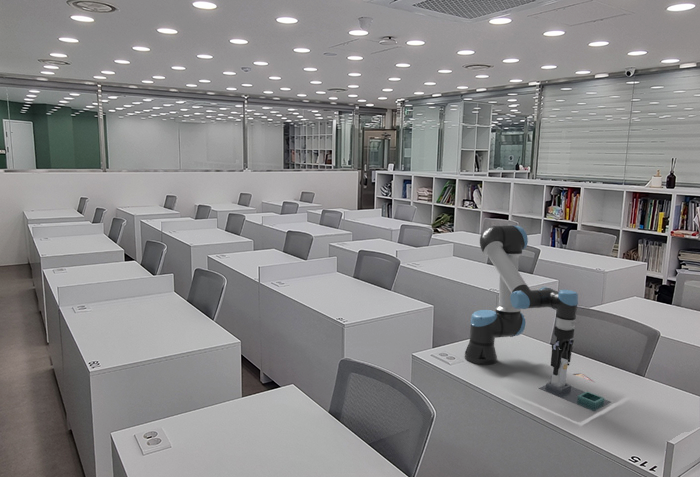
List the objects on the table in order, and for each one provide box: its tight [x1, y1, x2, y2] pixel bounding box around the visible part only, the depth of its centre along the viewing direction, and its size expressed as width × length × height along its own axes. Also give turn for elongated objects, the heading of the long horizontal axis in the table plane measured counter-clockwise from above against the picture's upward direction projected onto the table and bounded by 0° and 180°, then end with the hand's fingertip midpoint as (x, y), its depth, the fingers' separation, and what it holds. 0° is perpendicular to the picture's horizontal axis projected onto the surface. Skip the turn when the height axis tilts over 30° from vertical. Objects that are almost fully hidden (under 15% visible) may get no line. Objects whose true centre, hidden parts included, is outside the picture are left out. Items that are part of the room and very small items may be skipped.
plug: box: [550, 358, 569, 388], centre depth 217 cm, size 5×4×12 cm
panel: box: [538, 380, 611, 412], centre depth 213 cm, size 24×14×3 cm, turn 38°
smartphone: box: [572, 373, 596, 383], centre depth 228 cm, size 1×7×15 cm
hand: (558, 380), depth 218 cm, fingers closed on plug, 4 cm apart
